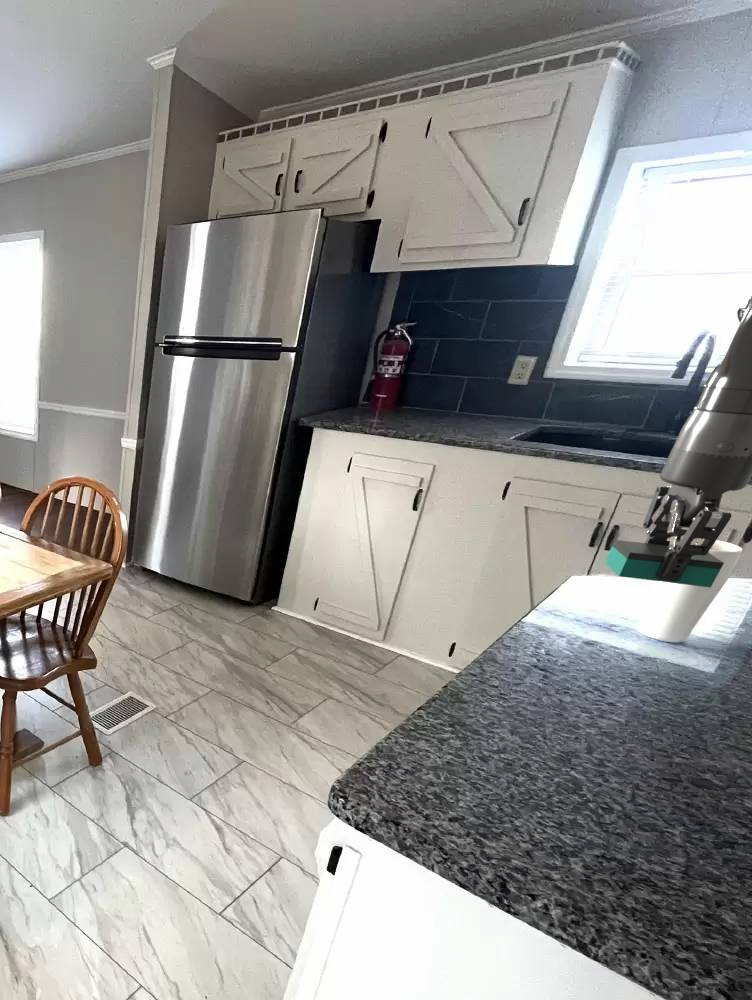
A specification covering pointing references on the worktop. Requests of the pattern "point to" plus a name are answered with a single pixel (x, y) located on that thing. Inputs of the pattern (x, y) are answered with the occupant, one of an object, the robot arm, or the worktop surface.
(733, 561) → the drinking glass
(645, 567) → the sponge
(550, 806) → the worktop surface
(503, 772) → the worktop surface
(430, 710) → the worktop surface
